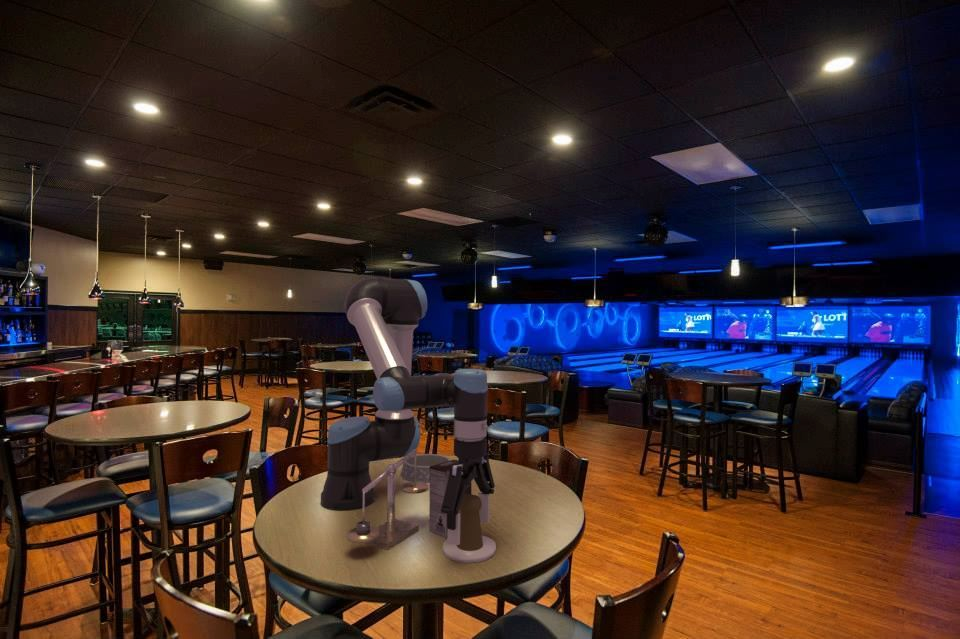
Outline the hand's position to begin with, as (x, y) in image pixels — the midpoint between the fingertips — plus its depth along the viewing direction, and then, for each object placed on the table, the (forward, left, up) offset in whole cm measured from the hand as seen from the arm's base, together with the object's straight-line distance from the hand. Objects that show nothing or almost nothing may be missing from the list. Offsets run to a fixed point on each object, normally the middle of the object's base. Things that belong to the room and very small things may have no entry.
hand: (469, 532), depth 112 cm
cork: (0, 0, -3) cm, 3 cm away
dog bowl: (-41, +43, -5) cm, 59 cm away
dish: (0, 0, -4) cm, 4 cm away
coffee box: (-10, +8, -4) cm, 14 cm away
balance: (-20, -3, -4) cm, 21 cm away
